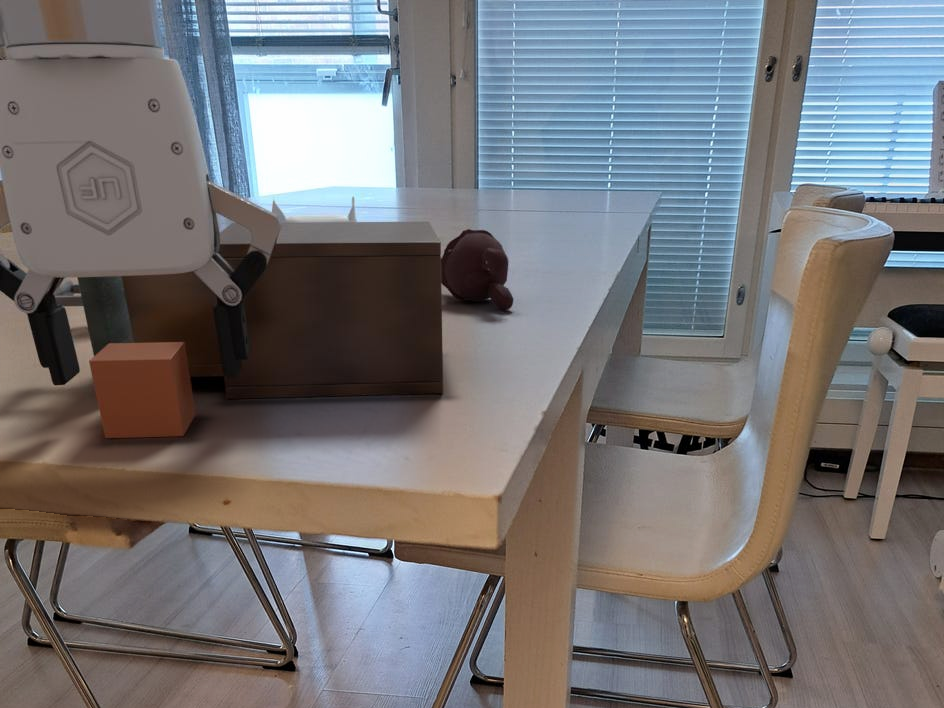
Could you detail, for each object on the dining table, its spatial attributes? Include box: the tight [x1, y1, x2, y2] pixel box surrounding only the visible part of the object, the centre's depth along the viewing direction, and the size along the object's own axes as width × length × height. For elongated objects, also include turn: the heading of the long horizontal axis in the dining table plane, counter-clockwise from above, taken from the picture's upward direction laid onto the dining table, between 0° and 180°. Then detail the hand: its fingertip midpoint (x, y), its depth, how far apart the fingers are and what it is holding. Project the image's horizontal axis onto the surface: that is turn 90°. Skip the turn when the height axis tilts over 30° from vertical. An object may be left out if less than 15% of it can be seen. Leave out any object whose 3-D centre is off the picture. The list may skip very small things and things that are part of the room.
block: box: [88, 342, 197, 439], centre depth 54 cm, size 4×4×4 cm
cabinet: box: [212, 221, 444, 400], centre depth 64 cm, size 15×13×10 cm
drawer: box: [54, 271, 224, 378], centre depth 63 cm, size 18×11×8 cm, turn 96°
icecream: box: [441, 228, 514, 312], centre depth 91 cm, size 7×7×15 cm
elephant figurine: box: [271, 196, 358, 223], centre depth 97 cm, size 10×12×9 cm
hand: (151, 376), depth 53 cm, fingers open, 9 cm apart
